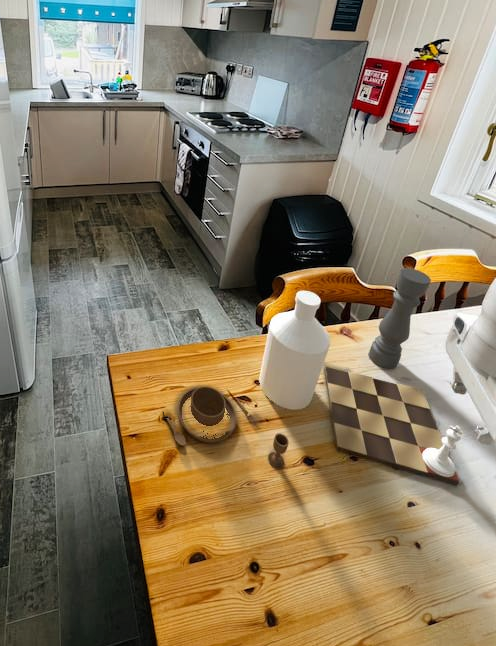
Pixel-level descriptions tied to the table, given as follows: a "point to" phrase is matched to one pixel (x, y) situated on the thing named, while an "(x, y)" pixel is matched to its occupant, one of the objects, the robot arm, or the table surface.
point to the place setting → (219, 419)
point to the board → (383, 422)
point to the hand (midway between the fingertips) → (468, 413)
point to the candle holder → (398, 318)
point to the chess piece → (443, 454)
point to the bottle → (294, 354)
